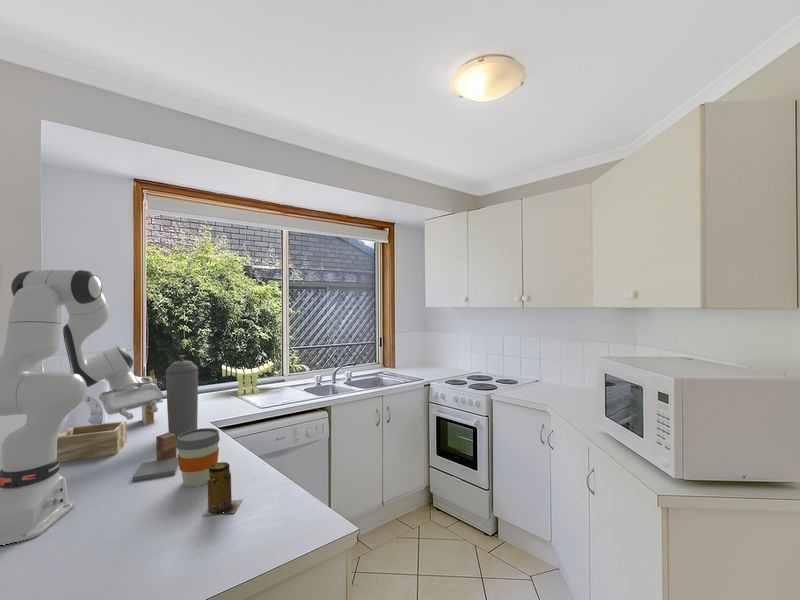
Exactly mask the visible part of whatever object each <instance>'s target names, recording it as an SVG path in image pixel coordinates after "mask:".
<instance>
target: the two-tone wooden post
mask: <svg viewBox="0 0 800 600" xmlns="http://www.w3.org/2000/svg"><path fill="white" fill-rule="evenodd" d="M154 372H155V371H154V369H152V370H151V371H150V375H148V376H143V377H144V378H151V379H152V380H153V381H152V383H154V384H156V385H157V386H158V379H157V378H156V377H155V373H154ZM163 402H164V400H163V398H162V399H161V400H160V401H159V402H157V404H159V403H163ZM152 407H153V406H151V405H150V404H149V405H145V406H141V421H142V423H143V425H144V426H149V424H150V425H153V424H155V412H154V413H152V411H151V409H152Z"/></svg>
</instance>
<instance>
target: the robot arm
mask: <svg viewBox="0 0 800 600" xmlns="http://www.w3.org/2000/svg"><path fill="white" fill-rule="evenodd" d="M10 286H11V287H10V288H11V293H12V296H13V299H12V303H11V306H10V310H9V315H8V320H7V328H6V329H7V331H6V337H5V342H4V348H3V351H2V354H1V355H0V356H1V357H0V417H4V416H5V417H7V416H18V415H26V420H25V424H24V425H23V426H20V427H19V428H17V429H15V430H14V431H12V432H9V434H8V435H6V436H5V438H4V439H3V441H2V442H1V469H0V545H3V544H8V543H13V542H17V543H20V542H19V541H21V542H24V541H27V540H30V539H33V538H35V537H38V536H39V535H42V533H43V532H45V531H46V530H47V529H49V528H50V527H51V526H53V524H55V523H57V521H58V520H60V519H61V518H62V517H63V516H65V515H66V514H67V513H68V512H69V511H71V510H72V509H73V508H74V507H75V503H74V502H73V501H69V498H68V489H67V486H68V485H67V480H66V477H64V476H63V475H61V473H60V472H59V471H60V466H61V462H60V461H59V457H57V439H58V437H59V431H60V428H61V424H63V423H62V422H63V421H64V419H65V418H66V417H67V416H68V414H69V413H70V412H71V411H72V410H74V409H75V408H77V407H78V406H79V405H81V403H82V402H83V401H84V399H85V398H86V395H87V392H88V388H90V387H91V386H94V385H96V384H97V383H99V382H101V381H103V380H105V381H106V382H107V383H108V385H109V388H110V390H108V391H103V392H102V393H101V394H99V396H98V397H99V400H100V402H102V406H103V408H104V411H105V413H107V415H115V414H119V415H121V416H122V417H125V419H126V421H130V420H132V419H133V418H134V414H133V413H132V412H130V413H129V410H134V409H136V408H140V407H141V408H142V406H145V405H149V404H150V405H151V406H153V407H152V409H151V411H152V413H154V414H155V413H157V412H158V410H159V409H158V406H157V404H158V403H157V402H159V401H160V400H161V399H162V400H163V396H164V394H163V392H162V391H161V389H160V387H158V384H157V385H156V384H154V383H152V381H153V380H152V379H151V378H144V377H145V376H136V375H135V374H134V373H133V372H132V371H131V369H132V368H133V364H134V359H133V358H132V356H131V355H130V354H129V353H128V350H127V349H126V348H124V347H121V346H115V347H111V348H108V349H107V350H103V351H102V352H100V353H96V354H94V355H92V356H89V357H86V358H85V357H84V352H83V343H84V342H85V340H86V339H87V338H89V337H90V336H91V335H93V334H94V333H95V332H96V331H98V330H100V329H101V328H103V326H104V325H106V323H107V322H108V320H109V318H110V315H111V313H110V307H109V304H108V302H107V299H106V298H105V295H104V293H103V284H102V281H101V279H100V277H99V276H98V275H97V274H96V273H95V272H93V271H89V270H83V269H82V270H81V269H79V270H72V269H71V270H70V269H56V268H55V269H44V270H43V269H42V270H26V271H23V272H20V273H18V274H17V275H16V276H15V277H14V278H13V279H12V282H11V285H10ZM61 306H64V307H65V309H66V312H67V314H68V320H67V323H66V324H65V325H64V326H63V328H62V307H61ZM61 329H62V334H63V335H62V336H63V341H64V344H65V350H66V353H67V358H68V362H69V368H70V369H69V371H70V372H65V371H64V372H63V371H54V372H39V373H38V372H37V373H36V372H35V369H36V368H37V366H38V365H39V363H41V362H42V361H44V360H46V359H49V358H51V357H53V356H54V355H55V354H56V353H57V352H58V350H59V348H60V341H61ZM26 539H27V540H26ZM23 540H24V541H23ZM13 544H14V543H13Z"/></svg>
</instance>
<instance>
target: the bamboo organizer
mask: <svg viewBox="0 0 800 600" xmlns="http://www.w3.org/2000/svg"><path fill="white" fill-rule="evenodd" d="M127 437H128V436H127V420H123V421H121V420H120V421H113V422H106V423H105V422H104V423H97V424H96V423H95V424H87V425H86V424H85V425H79V426H71V427H69V428H68V429H67V430H66V431H64V432H63V433H61V434H60V435H58V439H57V457H59V461H60V463H61V462H69V461H75V460H84V459H90V458H97V457H106V456H111V455H118V454H119V453H120V452H121V450H122V449H123V448H124V446H125V445H126V444H127V439H128V438H127Z"/></svg>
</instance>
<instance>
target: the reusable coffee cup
mask: <svg viewBox="0 0 800 600" xmlns="http://www.w3.org/2000/svg"><path fill="white" fill-rule="evenodd" d="M220 438H221V437H220V433H219V430H218V429H216V428H211V427H209V428H207V427H204V428H197V429H195V430H191V431H187V432H185V433H182V434H180V435H179V436H178V437H177V438H176V449H177V452H178V454H177V455H176V458H177V457H178V463H179V466H178V468H179V471H181V477H182V482H183V486H185V487H188V486H196V487H200V486H199V485H201V486H204V485H207V484H208V481H207V480H208V476H209V467H210V466H211V465H213V464H215V463H218V461H219V451H220V447H219V442H220ZM206 483H207V484H206ZM203 484H204V485H203Z"/></svg>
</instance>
